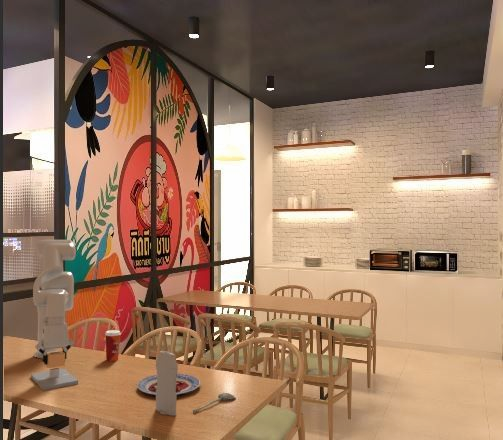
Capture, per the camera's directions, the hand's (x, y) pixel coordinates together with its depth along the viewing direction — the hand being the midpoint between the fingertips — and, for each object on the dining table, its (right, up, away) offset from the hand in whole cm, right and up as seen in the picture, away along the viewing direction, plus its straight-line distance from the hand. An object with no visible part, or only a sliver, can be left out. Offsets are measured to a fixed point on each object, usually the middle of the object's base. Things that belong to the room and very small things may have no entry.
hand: (54, 362), depth 200 cm
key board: (0, -8, 0) cm, 8 cm away
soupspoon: (+71, -10, -23) cm, 75 cm away
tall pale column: (+54, -9, -31) cm, 63 cm away
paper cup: (+15, -9, +32) cm, 37 cm away
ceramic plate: (+50, -9, -6) cm, 52 cm away
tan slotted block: (0, -1, 0) cm, 1 cm away
